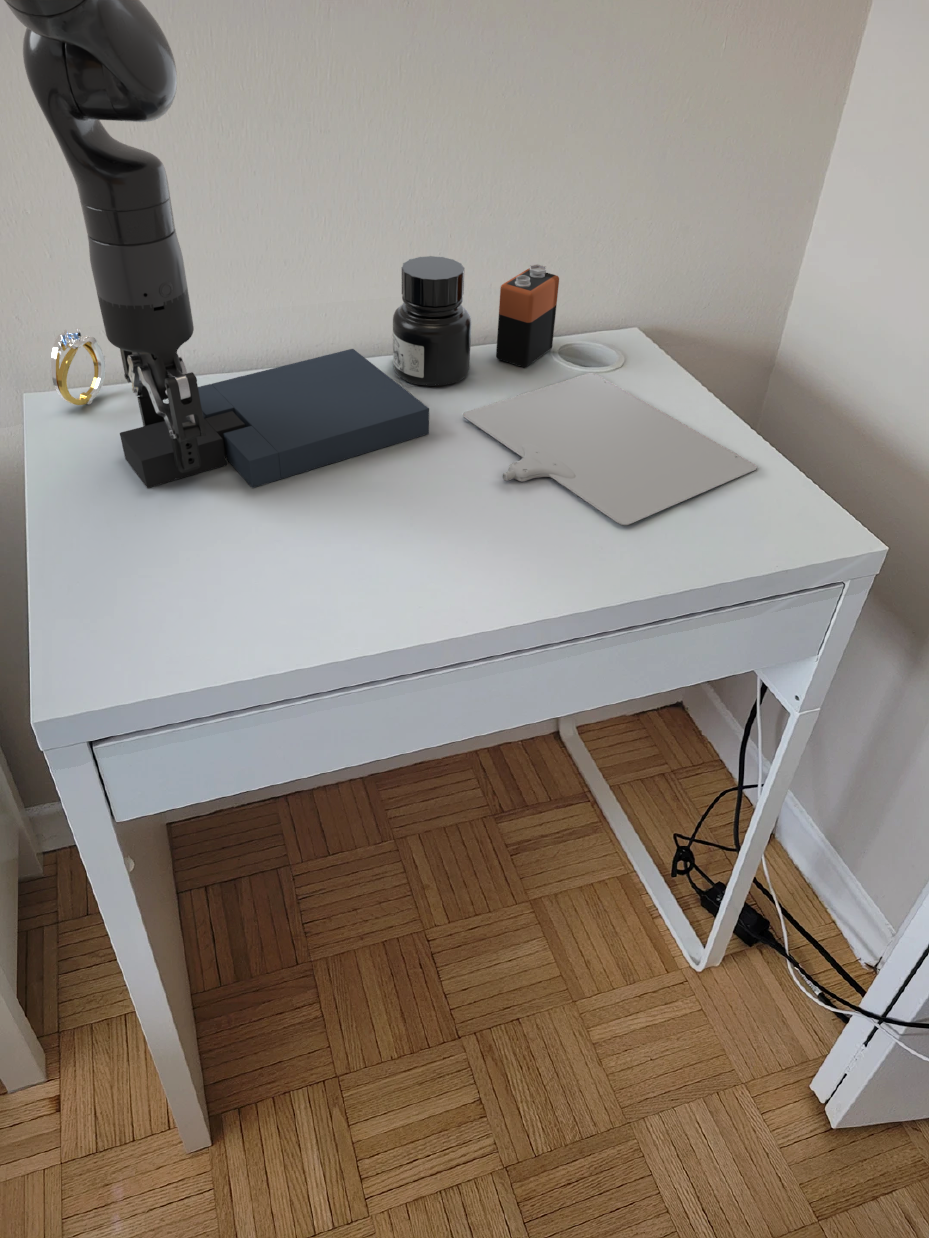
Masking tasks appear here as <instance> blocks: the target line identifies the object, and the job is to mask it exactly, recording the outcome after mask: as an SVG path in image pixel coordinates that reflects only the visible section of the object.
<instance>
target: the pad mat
mask: <svg viewBox="0 0 929 1238" xmlns="http://www.w3.org/2000/svg"><path fill="white" fill-rule="evenodd" d="M198 391H199V396H200V402H201V407H202V413H203V418H204V419H205V418H209V417H213V416H216V415H220V414H224V413H228V412H231V411H233V412H234V413H235V415H236V416H237V417H238V418H239V419H240V420H241V421H242V422H243V423H244V424H245V428H242V429H238V430H234V431H231V432H227V433H224V441H225V448H226V455H227V456H226V460H227V461H228V463H230V465H231V466H232V467H233V468H234V469H235V471H236V472H237V473H238V474H239V475H240V476H241V477H242V479H244V480H245V481H246V483H247V484H248V485H249V486H250V487H251V488H252V489H254V488H257V487H260V486H265V485H267V484H270V483H273V482H277V481H279V480H283V479H286V478H290V477H292V476H295V475H299V474H303V473H305V472H309V471H313V470H315V469H319V468H322V467H325V466H329V465H331V464H336V463H338V462H341V461H345V460H348V459H351V458H354V457H358V456H361V455H364V454H367V453H372V452H374V451H377V450H381V449H383V448H388V447H391V446H393V445H396V444H400V443H403V442H406V441H409V440H413V439H416V438H419V437H423V436H426V435H429V433H430V407H428V406H427V405H426V404H424V403H423V402H422V401H420V399H418V398H417V397H415V396H414V395H413V394H411V392H409V391H408V390H407V389H405V388H404V387H403V386H401V385H400V384H399V383H398V382H397V381H395V380H394V379H392V378H391V377H390V376H389V375H388V374H386V373H385V372H384V371H382V370H381V369H380V368H378V367H377V366H376V365H374V363H372V362H371V361H370V360H368V359H367V358H366V357H365V356H364V355H362V354H361V353H359V351H357V350H355V349H354V348H350V349H346V350H345V349H344V350H342V351H338V352H337V351H336V352H334V353H329V354H326V355H322V356H318V357H312V358H308V359H305V360H301V361H298V362H293V363H289V364H285V365H281V366H277V367H274V368H273V367H272V368H269V369H265V370H261V371H257V372H253V373H249V374H244V375H241V376H237V377H232V378H229V379H225V380H221V381H216V382H213V383H209V384H205V385H201V386H198Z"/></svg>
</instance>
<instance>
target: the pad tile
mask: <svg viewBox="0 0 929 1238" xmlns="http://www.w3.org/2000/svg"><path fill="white" fill-rule="evenodd" d="M203 419H204V418H203ZM185 422H188V421H187V418H186V416H185V417H183V418H182V423H185ZM204 424H205V428H206V435H205V436H202V437H197V442H198V448H199V454H200V460H201V466H200V467H199V468H198V469H195V470H191V471H188V472H184V473H182V472H180V471H179V470H178V469H177V468H176V464H175V459H174V454H173V448H172V443H171V438H170V435H169V430H168V428H167V425H166V422H165V421H163V422H159V423H155V424H151V425H147V426H144V427H143V426H140V427H136V428H133V429H128V430H124V431H121V432H119V436H120V441H121V445H122V449H123V454H124V460H125V461H126V462H127V464H128V465H129V466H130V468H131V469H132V470H133V471H134V473H136V475H137V477H138V478H139V479H140V481H141V482H142V483H143V484H144V486H145V487H146V488H147V489H149V488H153V487H156V486H159V485H164V484H167V483H170V482H173V481H176V480H180V479H183V478H186V477H191V476H194V475H197V474H200V473H204V472H208V471H211V470H214V469H217V468H221V467H224V466H227V461H226V460H227V459H226V458H227V455H226V448H225V441H224V433H227V432H231V431H234V430H238V429H242V428H245V424H244V423H243V422H242V421H241V420H240V419H239V418H238V417H237V416H236V415H235V413H234V412H233V411H231V412H228V413H224V414H220V415H216V416H213V417H209V418H205V419H204Z"/></svg>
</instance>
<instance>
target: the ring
mask: <svg viewBox="0 0 929 1238" xmlns="http://www.w3.org/2000/svg"><path fill="white" fill-rule="evenodd" d="M75 330H76V332H72V333H70V332H69V330H68V329H63V332H61V333H60V334H58V335H57V336H56V338H54V339H55V340H54V343H53V346H52V351H51V357H50V358H51V359H50V369H51V370H50V371H51V378H52V383H53V386H54V389H55V390H56V393H57V394H58V396H59V397H60V398H61V399H62V400H63V401H65V402H67V403H69V404H72V405H74V406H83V405H91V404H92V403H93V402H94V399H95V398H96V397H97V396H98V394H99V393H100V391H101V390H102V387H103V385H104V381H105V376H106V359H105V353H104V352H103V349H102V347H101V345H100V343H99V341H98V340H97V339H96V338H95V337H93V336H91V335H90V336H89V335H83V336H82V332H81V328H80V327H76V328H75ZM81 347H83V348H84V349H85V350H86V351H87V352H88V354H89V356H90V357H91V360H92V363H93V370H94V374H93V380H92V382H91V385H90V387H89V389H88V390H87V391H86V392H85V391H84V392H81V393H80V394H79V397H74V396H72V394H71V393H70V391H69V389H68V380H67V379H68V373H69V370H70V367H71V364H72V363H73V360H74V358H75V356H76V354H77V353H78V350H79V349H80V348H81ZM67 349H69V350H68V351H67ZM65 351H67V352H66V354H65V355H64V357H63V358H62V361H61V357H62V356H61V355H62V352H65Z"/></svg>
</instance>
